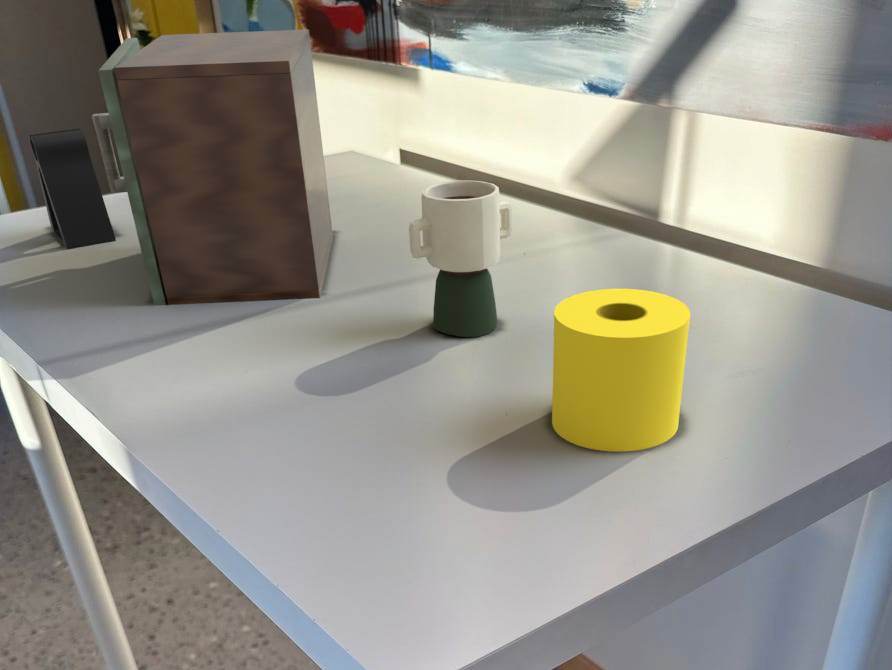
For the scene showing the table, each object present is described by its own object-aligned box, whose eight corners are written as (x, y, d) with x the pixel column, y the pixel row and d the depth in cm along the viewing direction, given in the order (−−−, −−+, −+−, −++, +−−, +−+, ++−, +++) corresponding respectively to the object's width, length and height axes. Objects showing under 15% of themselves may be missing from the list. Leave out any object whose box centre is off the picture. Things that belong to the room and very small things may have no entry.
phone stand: (116, 241, 121) (89, 135, 113) (67, 250, 119) (36, 142, 111) (99, 224, 127) (73, 122, 120) (52, 232, 125) (22, 129, 117)
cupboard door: (103, 310, 102) (39, 73, 88) (127, 247, 118) (76, 40, 105) (165, 305, 102) (111, 69, 89) (181, 243, 119) (137, 37, 106)
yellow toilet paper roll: (526, 430, 78) (526, 314, 72) (606, 390, 83) (612, 279, 77) (623, 471, 72) (632, 349, 66) (702, 426, 78) (717, 309, 72)
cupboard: (168, 306, 102) (113, 67, 88) (203, 243, 119) (161, 34, 106) (320, 299, 103) (289, 60, 89) (333, 237, 120) (308, 29, 106)
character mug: (491, 309, 99) (488, 172, 91) (532, 330, 94) (533, 187, 86) (399, 333, 95) (387, 191, 86) (437, 356, 90) (428, 208, 82)
